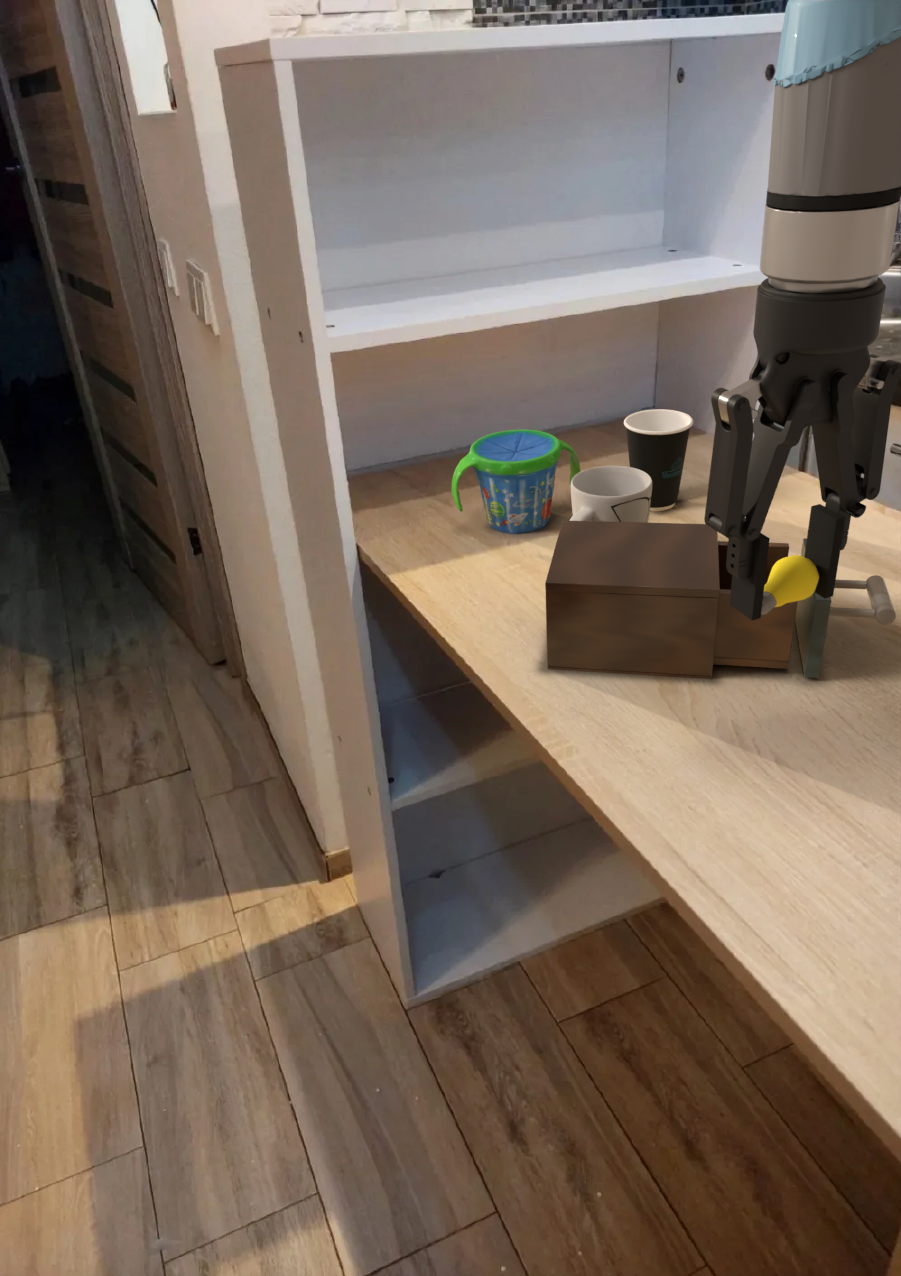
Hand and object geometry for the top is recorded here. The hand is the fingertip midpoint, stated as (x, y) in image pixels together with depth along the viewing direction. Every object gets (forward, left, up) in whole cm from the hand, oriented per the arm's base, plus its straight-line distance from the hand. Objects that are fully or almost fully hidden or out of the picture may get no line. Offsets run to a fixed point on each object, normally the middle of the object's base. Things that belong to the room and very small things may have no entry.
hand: (781, 599), depth 70 cm
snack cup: (+26, -37, -13) cm, 47 cm away
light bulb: (0, 0, 0) cm, 0 cm away
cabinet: (+11, -12, -12) cm, 21 cm away
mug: (+15, -26, -13) cm, 33 cm away
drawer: (-1, -12, -11) cm, 17 cm away
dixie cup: (+10, -43, -13) cm, 46 cm away
